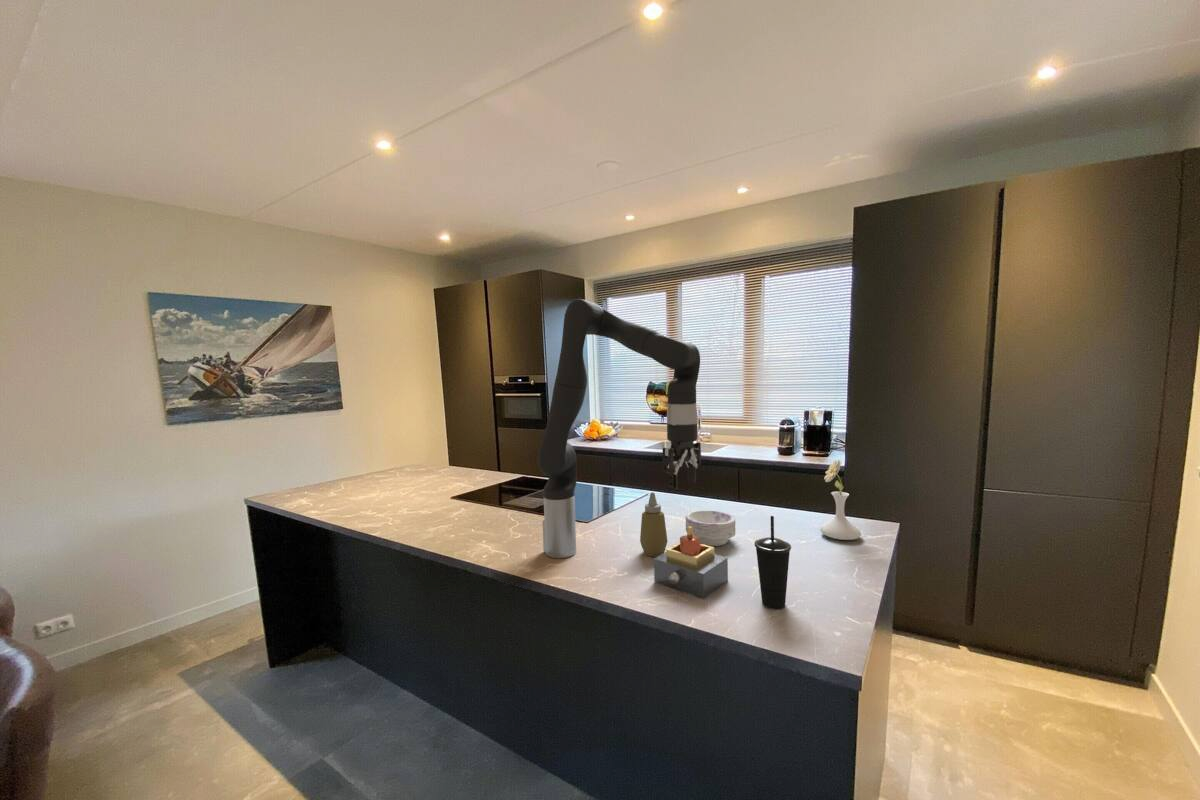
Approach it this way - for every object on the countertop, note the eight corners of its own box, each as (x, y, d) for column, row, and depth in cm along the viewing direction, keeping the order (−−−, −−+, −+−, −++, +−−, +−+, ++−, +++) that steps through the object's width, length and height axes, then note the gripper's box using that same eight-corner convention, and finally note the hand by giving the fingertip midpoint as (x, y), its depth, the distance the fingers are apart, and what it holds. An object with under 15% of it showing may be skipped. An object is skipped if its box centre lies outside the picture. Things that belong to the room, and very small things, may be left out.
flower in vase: (823, 528, 147) (822, 453, 146) (863, 534, 140) (862, 456, 139) (815, 540, 136) (815, 460, 135) (858, 548, 130) (858, 463, 128)
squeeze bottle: (667, 559, 126) (665, 496, 125) (638, 557, 127) (637, 496, 127) (668, 548, 134) (667, 489, 133) (641, 547, 135) (640, 489, 134)
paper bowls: (741, 537, 141) (741, 512, 141) (727, 553, 128) (726, 527, 128) (695, 529, 149) (695, 506, 149) (678, 544, 137) (677, 519, 136)
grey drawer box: (649, 584, 111) (648, 551, 110) (680, 566, 121) (679, 535, 120) (699, 602, 101) (698, 566, 101) (727, 581, 111) (727, 547, 111)
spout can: (676, 578, 111) (675, 527, 111) (687, 571, 115) (686, 522, 114) (694, 584, 108) (693, 531, 107) (704, 577, 112) (703, 526, 111)
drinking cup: (749, 596, 103) (748, 512, 102) (781, 594, 104) (780, 510, 103) (764, 614, 95) (763, 522, 94) (798, 611, 96) (797, 520, 95)
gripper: (684, 418, 118) (685, 478, 119) (652, 423, 108) (653, 488, 109) (709, 420, 113) (710, 482, 114) (679, 425, 103) (679, 494, 104)
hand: (682, 485), depth 111 cm, fingers open, 8 cm apart
